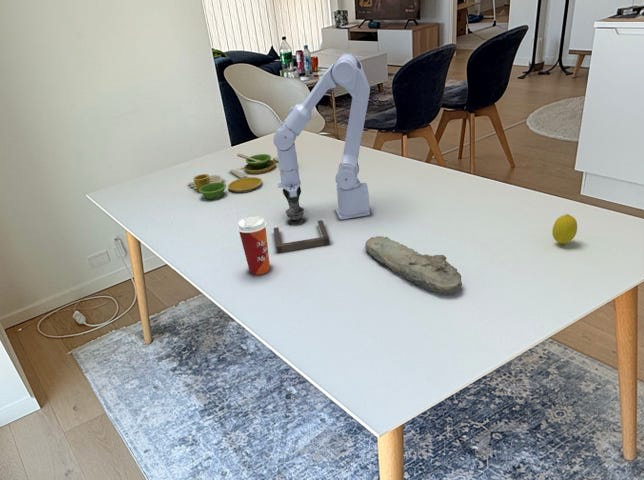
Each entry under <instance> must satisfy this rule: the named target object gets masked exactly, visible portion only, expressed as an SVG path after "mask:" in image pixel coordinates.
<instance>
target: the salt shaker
mask: <svg viewBox="0 0 644 480" xmlns="http://www.w3.org/2000/svg"><path fill="white" fill-rule="evenodd" d="M292 187H293V185H292V184H291V187H290V188H292ZM293 189H294V188H293ZM290 190H291V189H290ZM296 193H297V191H296ZM288 197H289V198H288V201H289V203H288V208H287V209H286V210H285V214H286V216H287V218H288V221H287V224H288V225H290V226H297V225H302V224H304V223H305V221H306V220H305V218H304V217H303V216H304V215H305V214H304V213H305V208H304V207H302V206H300V196H299V197H298V194H297V196H295V197H290V193H289V192H288ZM288 201H287V202H288Z"/></svg>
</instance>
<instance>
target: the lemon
mask: <svg viewBox="0 0 644 480" xmlns="http://www.w3.org/2000/svg"><path fill="white" fill-rule="evenodd" d="M551 231H552V232H551V233H552V237H553V239H554V240H555V241H556V242H557V243H559V244H560V245H562V246H563V245H565V244H567V243H570V242H571V241H573V240H574V238H575V237H576V235H577V232H578V222H577V220H576V218H575V217H574V216H572V215H570V214H568V213H566V214H563V215H560V216H559V217H558V218H556V220H555V221H554V224H553V226H552V230H551Z"/></svg>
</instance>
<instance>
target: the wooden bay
mask: <svg viewBox="0 0 644 480" xmlns="http://www.w3.org/2000/svg"><path fill="white" fill-rule="evenodd" d="M317 227H318V230H319V234H320V236H319V237H315V238H309V239H308V238H307V239H302V240H296V241H289V242H284V243H282V239H281V234H280V228H279V226H276V227H273V233H274V240H275V246H276V247H275V248H276V252H277V254H279V253H286V252H287V253H288V252H292V251H299V250H304V249H310V248H317V247H322V246H329V245H330V237H329V235H328V232H327V229H326V226H325V223H324V221H323V219H320V220H317Z"/></svg>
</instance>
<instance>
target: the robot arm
mask: <svg viewBox="0 0 644 480" xmlns="http://www.w3.org/2000/svg"><path fill="white" fill-rule="evenodd" d="M338 85H339V86H341V87H342V88H344V89H345V90H346V91H347V92H348V93H349V95H350V96H351V104H350V110H349V116H348V121H347V122H348V123H347V129H346V133H345V134H346V135H345V141H344V147H343V153H342V157H341V162H340V163H339V165H338V170H337V172H336V174H335V184H336V195H337V196H336V197H337V207H338V208H336V209H335V212H336V214H337V217H338V219H339V220H340V221H341V220H348V219H354V218H360V217H365V216H370V215H371V212H370V211H371V210H370V193H369V187H368V183H367V182H361V181H360V179H359V178H358V175H359V173H360V165H359V157H360V156H359V155H360V149H361V144H362V137H363V132H364V127H365V121H366V116H367V110H368V105H369V98H370V94H371V86H370V84H369V81H368V79H367V76H366V74H365V71H364V68H363V64H362V62H361V61H360V60H359V59H358V58H357V57H356V56H355V54H353V53H352V52H351V53H350V52H344V53H342V54H340V55H339V56H338V57H337V59H336V61H335V62H333V63H332V64H331V65H330V66H329V67H328V68H327V69H326V70H325V71H324V73H323V74H322V75H321V77H320V78H319V79H318V81H317V83H316V84H315V85H314V87H313V88H312V89H311V91H310V93H309V94H308V95H307V97H306V98H305V100H304V101H303V102H301V103H297V104H295V106H291V108H289V114H288V115H287V116H286V118H285V119H284V120H283V121H281V122H280V123H279V126H280V127H278V129H277V130H276V131H275V133H274V135H273V144H274V147H275V148H276V151H277V156H276V157H277V158H278V162H277V163H278V168H279V177H280V182H279V183H277V187H278V188H282V194H283V196H284V198H285V199H286V201H287V203H288V204H289V201H288V198H289V197H288V192H289V193H290V197H295V196H297V194H298V197H299V198H300V197H301V193H302V189H301V185H302V181H301V179H300V171H299V163H298V153H297V150H296V143H295V141H296V139H297V137H298V136H300V134H301V133H302V132H303V131H304V130H305V128H306V126H307V125H308V124H309V123H310V121H311V120H312V118H313V115H312V111H313V109H314V108H315V107H316V106H317V104H319V102H320V101H321V99H322V98H323V97H324V96H325V94H326V93H327V92H328V90H332V89H335V88H337V87H338ZM291 184H292V185H293V187H292V188H290V187H291ZM293 188H294V189H293ZM290 189H291V190H290ZM296 191H297V193H296Z"/></svg>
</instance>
